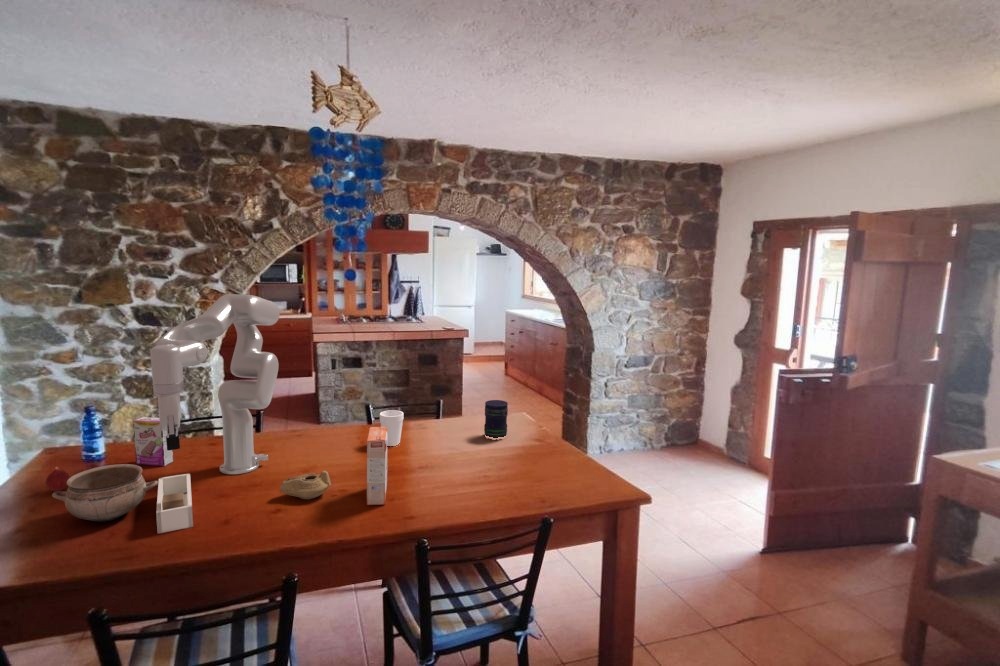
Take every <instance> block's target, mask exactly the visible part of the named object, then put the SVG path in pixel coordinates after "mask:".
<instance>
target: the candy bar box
mask: <svg viewBox="0 0 1000 666" xmlns="http://www.w3.org/2000/svg"><path fill="white" fill-rule="evenodd" d="M132 425H133V438H134V439H133V440H134V450H135V451H134V454H135V465H144V466H157V467H167V466H168V465H170V464H171V463H174V453H173V451H174V450H169V451H168V450H167V443H166V436H167V432H166V428H165V429H163V430H160V420H159V417H151V416H150V417H149V416H141V417H138V418H135V419H134V420H132Z"/></svg>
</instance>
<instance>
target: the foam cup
mask: <svg viewBox="0 0 1000 666" xmlns="http://www.w3.org/2000/svg"><path fill="white" fill-rule="evenodd" d="M404 416H405V415H404V412H403V411H401V410H395V409H392V410H389V409H388V410H384V411H381V412H380V413H379V421H380V427H387V446H396V445H398V444H399V443H401V439H402V438H401V437H402V429H403V421H404ZM399 445H400V444H399ZM396 447H397V446H396Z"/></svg>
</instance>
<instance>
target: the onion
mask: <svg viewBox="0 0 1000 666" xmlns="http://www.w3.org/2000/svg"><path fill="white" fill-rule="evenodd" d="M69 478H71V477H70V474H69V473H68V472H67V471H66V470H64V469H61V468H59V467H58V466H55V468H54V470H53V471H51V472H50V473H49V474H48V475H47V477H46V480H45V485H46V487H47V488H48V489H50V490H51V491H54V492H57V491H62V490H64V489H65V488H66V487H67V486H68V485H67V480H68V479H69Z"/></svg>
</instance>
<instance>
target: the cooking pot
mask: <svg viewBox="0 0 1000 666" xmlns="http://www.w3.org/2000/svg"><path fill="white" fill-rule="evenodd" d="M142 473H143V468H142V467H141V466H139V465H138V464H128V463H123V464H122V463H121V464H120V463H119V464H110V465H103V466H98V467H97V466H96V467H93V468H90V469H87V470H84V471H81V472H78V473H76V474H74V475H72V476H71V477H70V478H69V479H68V480H67V486H68V488H67V490H66V491H62V490H61V491H57V492H56V491H54V492H53V493H51V496H52V498H54V499H57V500H58V501H62V502H64V505H65V506H64V507H65V508H66V509H67V511H68V513H70V515H72V516H74V517H75V518H78V519H82V520H86V521H90V522H91V521H92V522H98V523H99V522H100V523H106V522H110V521H114V520H117V519H119V518H121V517H122V516H123V515H125V514H127V513H128V512H130V511H131V510H133V509H135V508H136V507H137V506H138V505H140V503H141V502H142V501H143V500H144V498H145V495H146V493H147V491H149V490H151V489H153V488H154V487H155V486H158V483H159V480H153V481H150V482H149V481H148V482H146V481H145V480H146V479H145V478H144V476H143V475H142Z"/></svg>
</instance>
